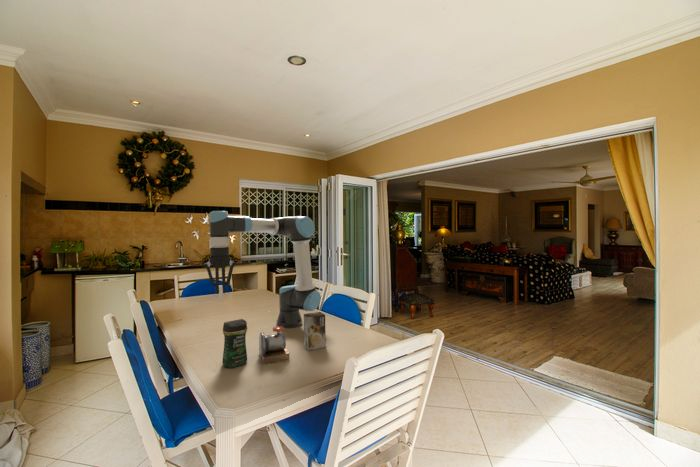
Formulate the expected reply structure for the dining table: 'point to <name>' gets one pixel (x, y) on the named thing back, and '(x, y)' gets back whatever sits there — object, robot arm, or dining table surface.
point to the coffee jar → (234, 343)
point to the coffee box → (314, 331)
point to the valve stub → (273, 347)
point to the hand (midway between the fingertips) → (220, 300)
